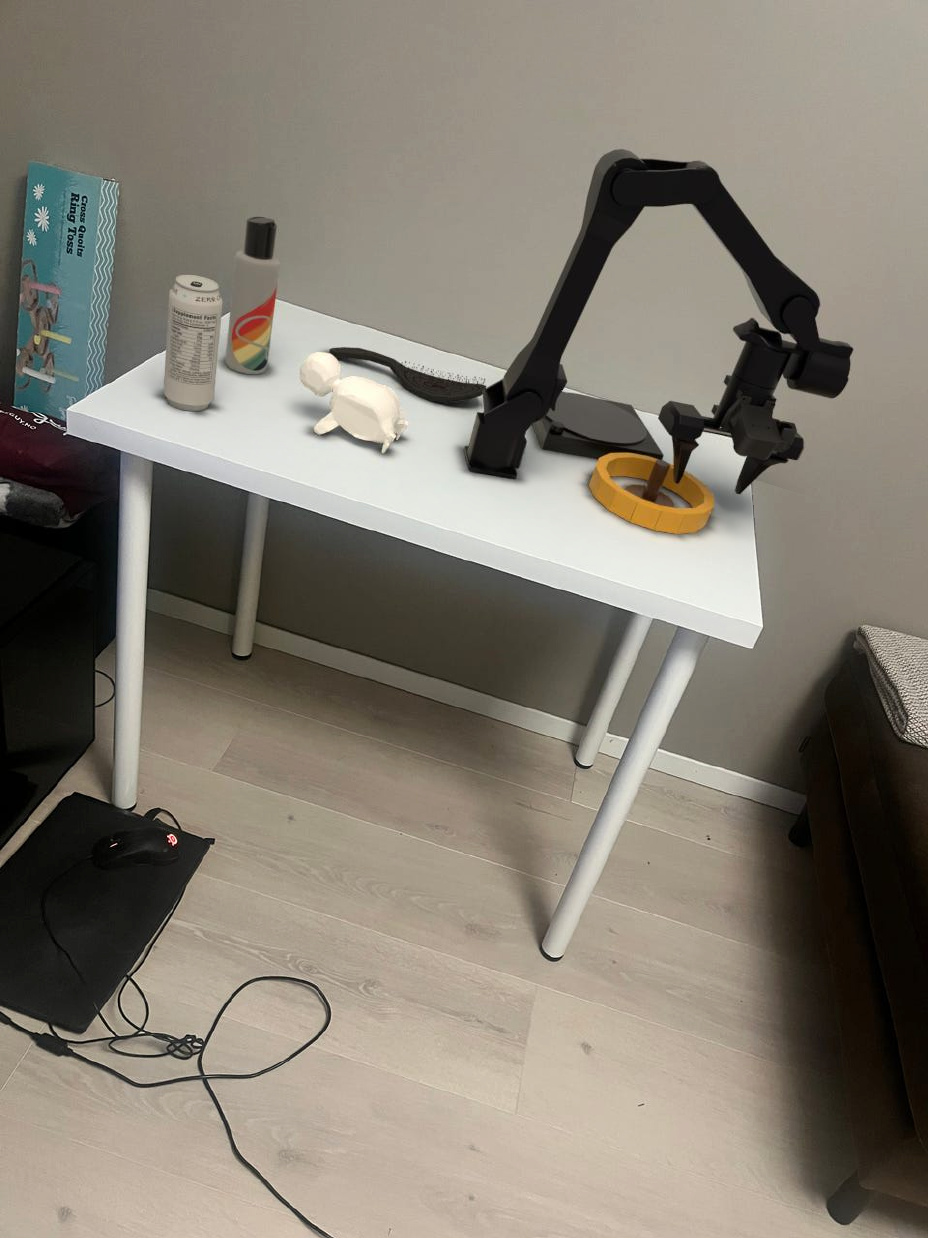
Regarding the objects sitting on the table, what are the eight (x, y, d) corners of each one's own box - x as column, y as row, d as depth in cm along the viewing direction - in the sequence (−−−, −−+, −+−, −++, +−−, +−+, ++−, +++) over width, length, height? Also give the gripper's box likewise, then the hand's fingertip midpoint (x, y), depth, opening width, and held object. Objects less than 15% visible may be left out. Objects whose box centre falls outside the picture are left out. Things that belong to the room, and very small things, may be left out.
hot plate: (542, 449, 129) (549, 427, 127) (521, 398, 144) (527, 378, 142) (658, 469, 134) (666, 448, 132) (626, 418, 148) (633, 398, 146)
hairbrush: (343, 329, 141) (494, 375, 137) (340, 352, 143) (489, 398, 139) (320, 342, 134) (478, 390, 130) (317, 366, 136) (473, 414, 132)
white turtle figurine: (390, 452, 123) (302, 380, 122) (423, 405, 119) (332, 330, 117) (366, 474, 116) (273, 399, 115) (401, 426, 112) (304, 346, 110)
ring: (606, 522, 115) (613, 502, 113) (578, 463, 128) (584, 444, 127) (722, 541, 119) (731, 522, 117) (683, 482, 132) (691, 463, 130)
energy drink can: (217, 398, 117) (228, 281, 109) (207, 416, 112) (218, 295, 104) (169, 387, 116) (176, 269, 108) (157, 406, 111) (164, 283, 103)
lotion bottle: (262, 378, 125) (280, 228, 114) (220, 368, 125) (235, 216, 114) (270, 364, 130) (288, 218, 119) (230, 354, 129) (244, 207, 118)
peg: (630, 510, 120) (646, 471, 117) (617, 484, 126) (631, 446, 122) (678, 518, 122) (695, 479, 118) (663, 492, 127) (679, 455, 124)
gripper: (709, 390, 106) (661, 506, 115) (847, 419, 111) (791, 528, 119) (679, 356, 115) (637, 466, 124) (809, 383, 119) (759, 487, 128)
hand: (706, 487), depth 123 cm, fingers open, 9 cm apart
